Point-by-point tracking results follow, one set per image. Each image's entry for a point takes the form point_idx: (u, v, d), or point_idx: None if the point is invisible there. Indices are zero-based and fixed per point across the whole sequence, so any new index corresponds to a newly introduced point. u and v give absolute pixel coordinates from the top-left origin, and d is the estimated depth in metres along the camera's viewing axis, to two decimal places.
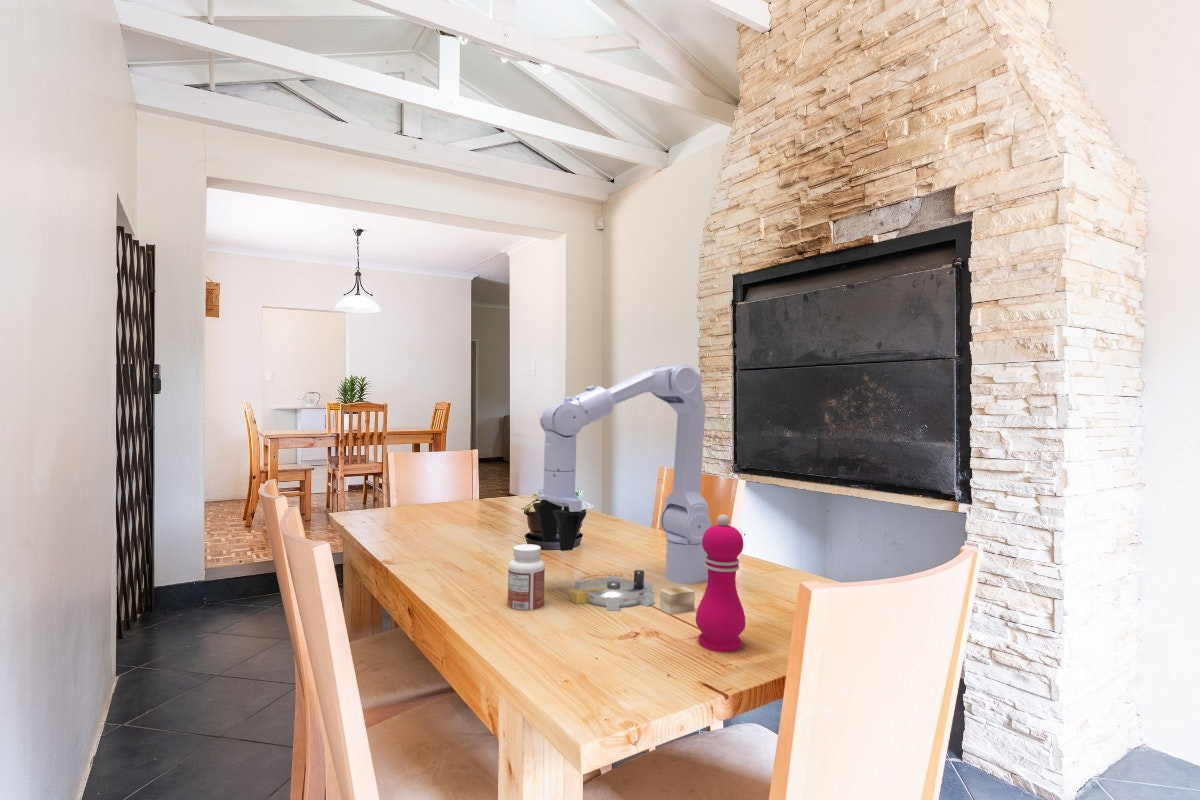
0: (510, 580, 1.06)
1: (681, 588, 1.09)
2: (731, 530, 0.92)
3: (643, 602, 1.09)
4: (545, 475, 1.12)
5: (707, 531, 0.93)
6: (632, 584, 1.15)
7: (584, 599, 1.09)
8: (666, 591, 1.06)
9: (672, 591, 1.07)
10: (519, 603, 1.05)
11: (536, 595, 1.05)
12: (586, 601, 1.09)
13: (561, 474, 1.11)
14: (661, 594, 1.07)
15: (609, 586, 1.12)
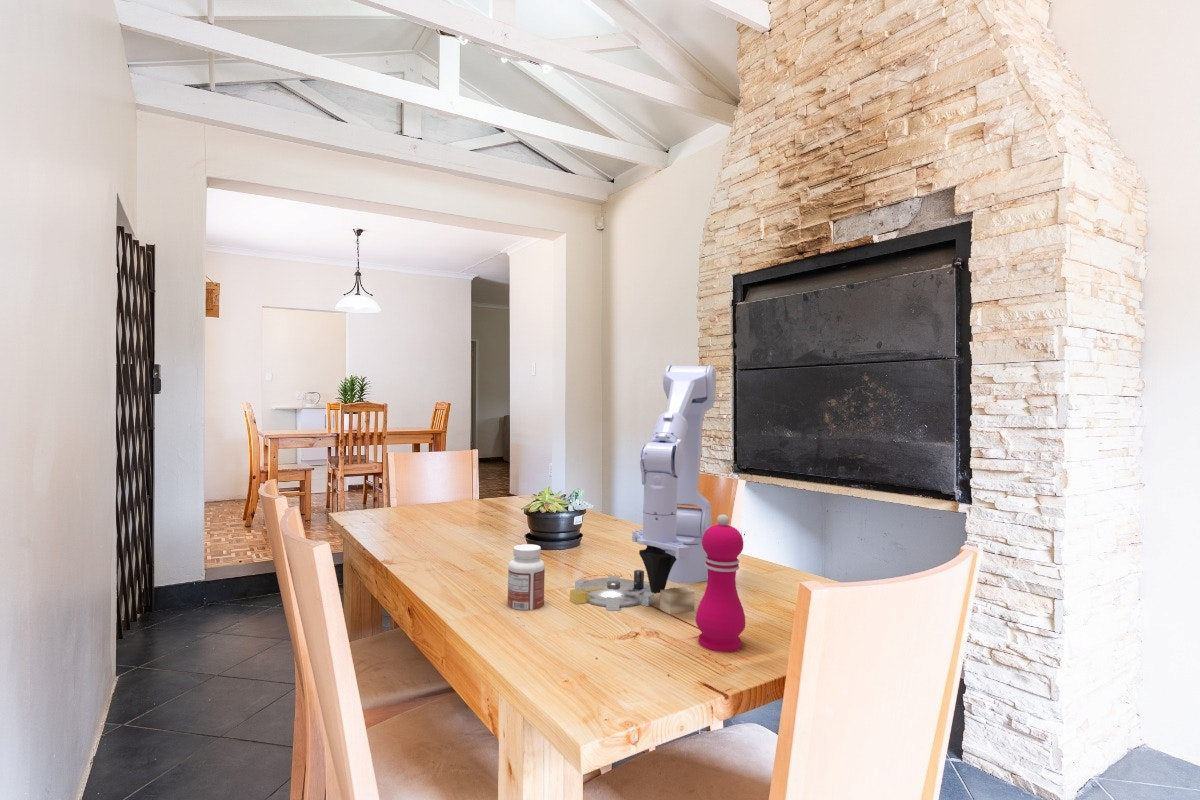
0: (510, 580, 1.06)
1: (681, 588, 1.09)
2: (731, 530, 0.92)
3: (643, 602, 1.09)
4: (646, 518, 1.06)
5: (707, 531, 0.93)
6: (632, 584, 1.15)
7: (584, 599, 1.09)
8: (666, 591, 1.06)
9: (672, 591, 1.07)
10: (519, 603, 1.05)
11: (536, 595, 1.05)
12: (586, 601, 1.09)
13: (664, 518, 1.05)
14: (661, 594, 1.07)
15: (609, 586, 1.12)
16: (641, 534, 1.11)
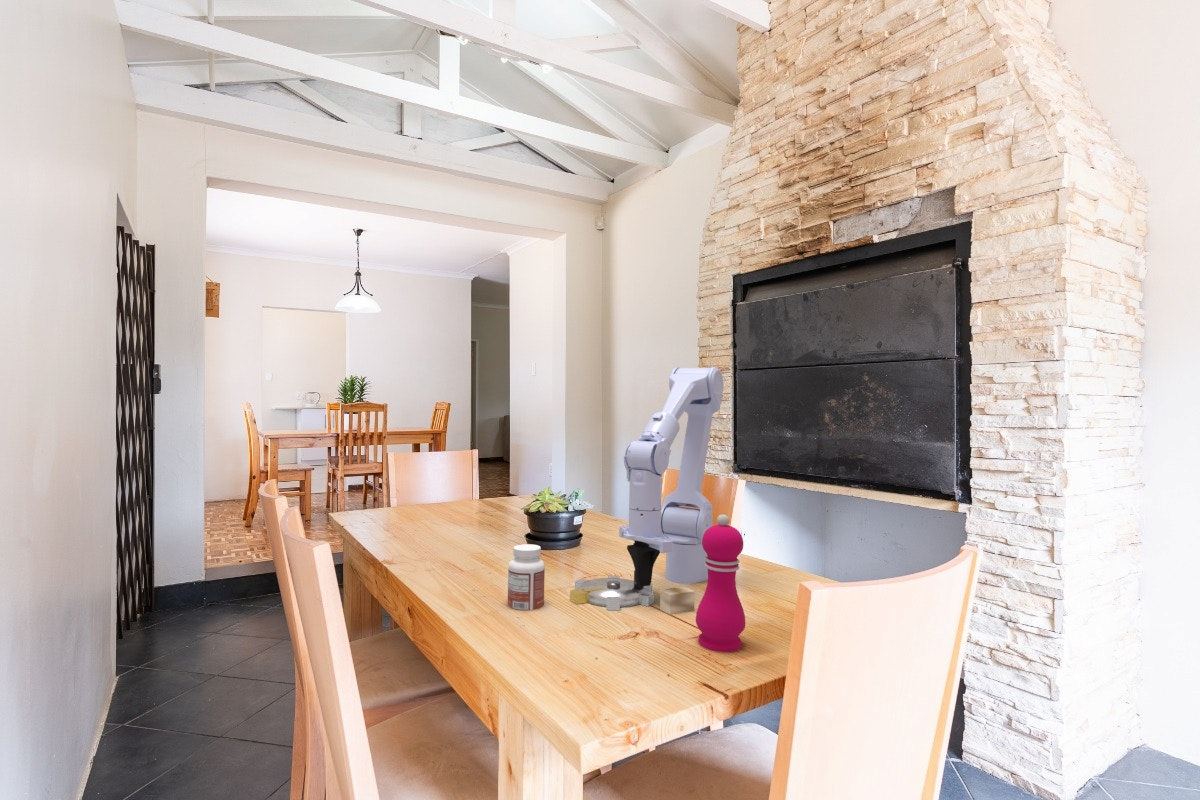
0: (510, 580, 1.06)
1: (681, 588, 1.09)
2: (731, 530, 0.92)
3: (643, 602, 1.09)
4: (631, 514, 1.11)
5: (707, 531, 0.93)
6: (632, 584, 1.15)
7: (584, 599, 1.09)
8: (666, 591, 1.06)
9: (672, 591, 1.07)
10: (519, 603, 1.05)
11: (536, 595, 1.05)
12: (586, 601, 1.09)
13: (649, 513, 1.09)
14: (661, 594, 1.07)
15: (609, 586, 1.12)
16: (627, 529, 1.16)
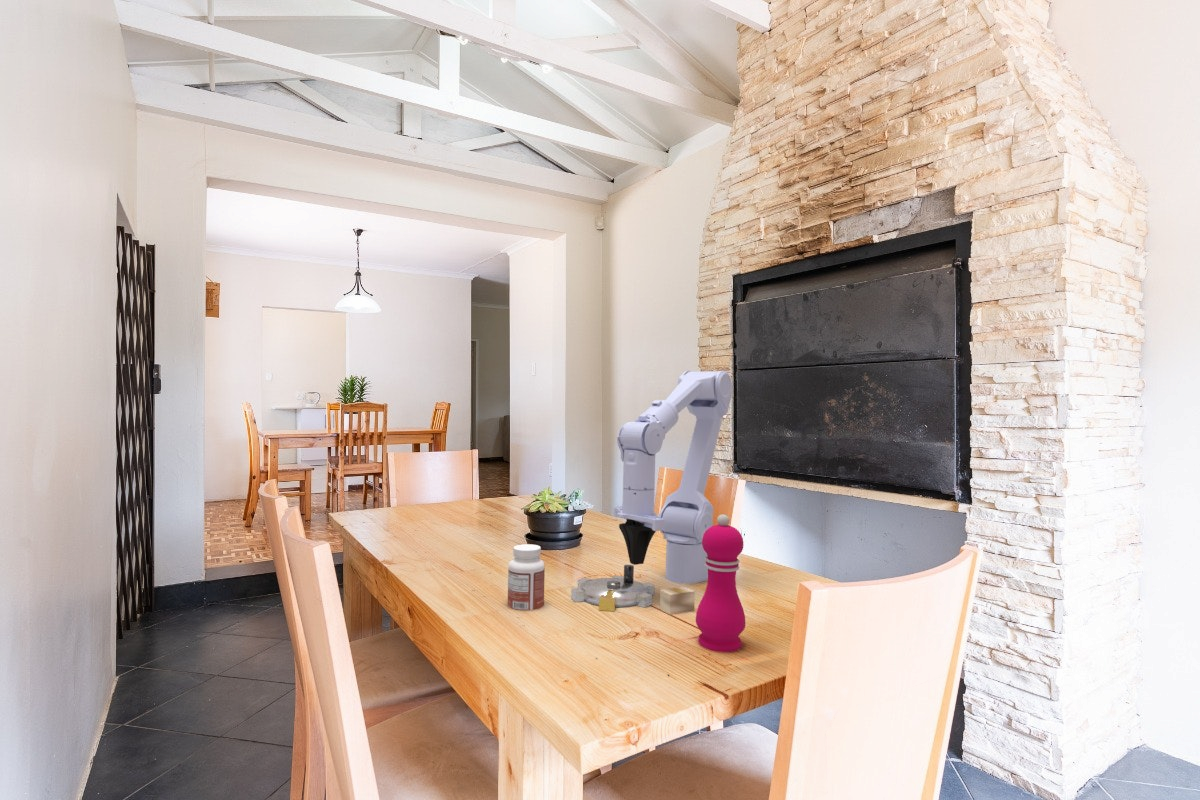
0: (510, 580, 1.06)
1: (681, 588, 1.09)
2: (731, 530, 0.92)
3: (649, 592, 1.15)
4: (625, 493, 1.13)
5: (707, 531, 0.93)
6: (615, 580, 1.17)
7: (615, 604, 1.07)
8: (666, 591, 1.06)
9: (672, 591, 1.07)
10: (519, 603, 1.05)
11: (536, 595, 1.05)
12: (615, 606, 1.07)
13: (642, 493, 1.11)
14: (661, 594, 1.07)
15: (615, 587, 1.12)
16: (622, 509, 1.18)
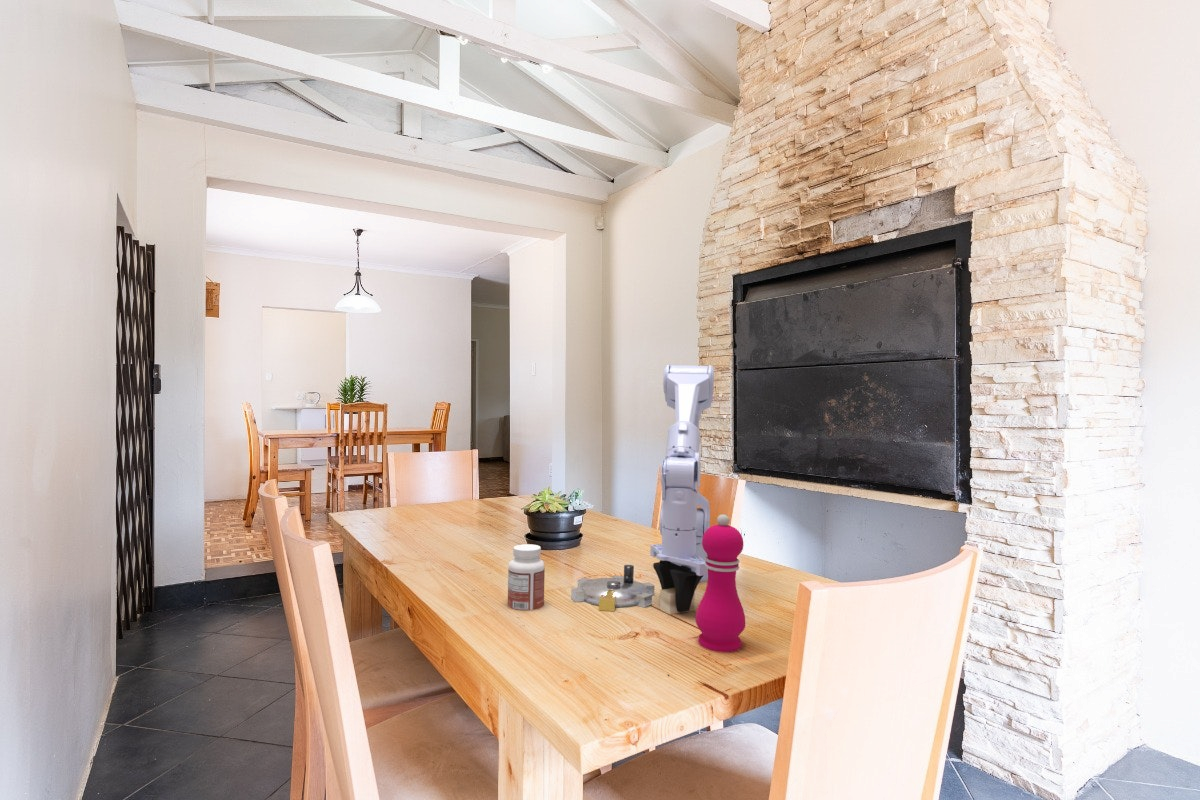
0: (510, 580, 1.06)
1: None
2: (731, 530, 0.92)
3: (649, 592, 1.15)
4: (665, 534, 1.06)
5: (707, 531, 0.93)
6: (615, 580, 1.17)
7: (615, 604, 1.07)
8: (666, 591, 1.06)
9: (672, 591, 1.07)
10: (519, 603, 1.05)
11: (536, 595, 1.05)
12: (615, 606, 1.07)
13: (684, 533, 1.04)
14: (661, 594, 1.07)
15: (615, 587, 1.12)
16: (660, 549, 1.11)
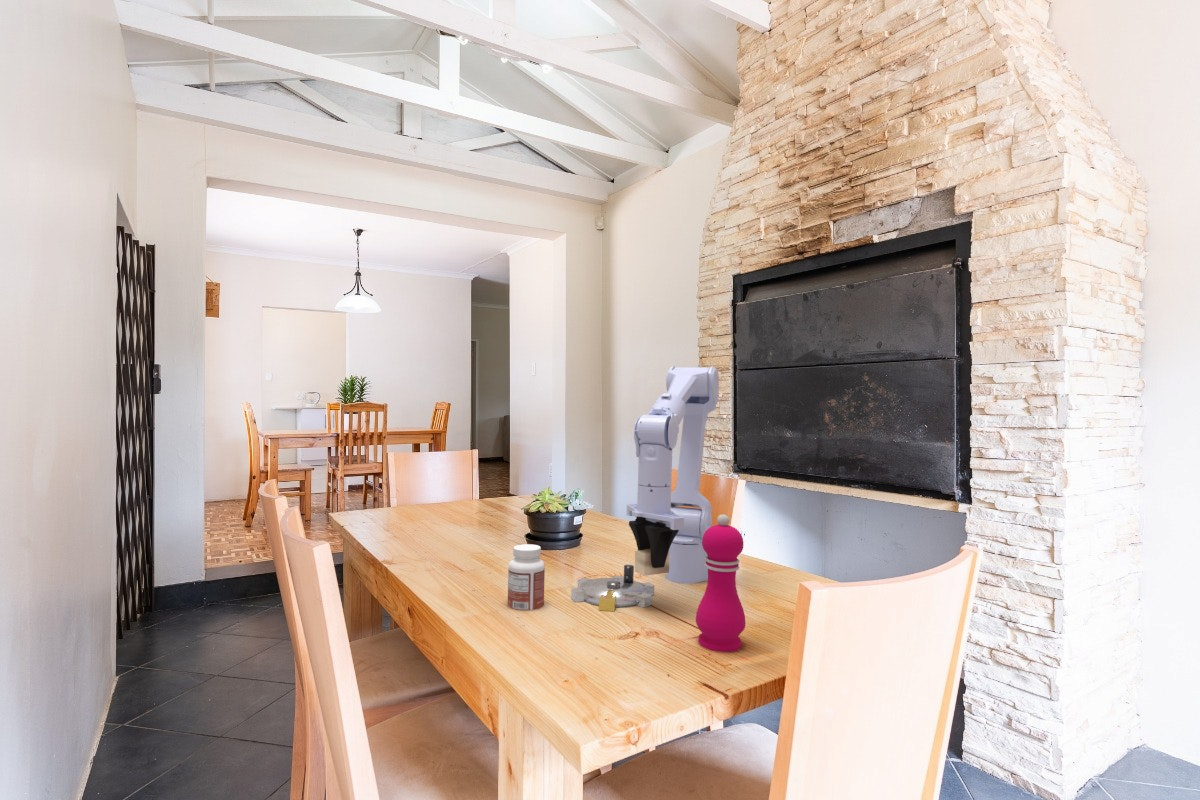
0: (510, 580, 1.06)
1: None
2: (731, 530, 0.92)
3: (649, 592, 1.15)
4: (640, 490, 1.06)
5: (707, 531, 0.93)
6: (615, 580, 1.17)
7: (615, 604, 1.07)
8: (641, 552, 1.07)
9: (647, 552, 1.07)
10: (519, 603, 1.05)
11: (536, 595, 1.05)
12: (615, 606, 1.07)
13: (659, 490, 1.05)
14: (636, 555, 1.07)
15: (615, 587, 1.12)
16: (635, 507, 1.11)
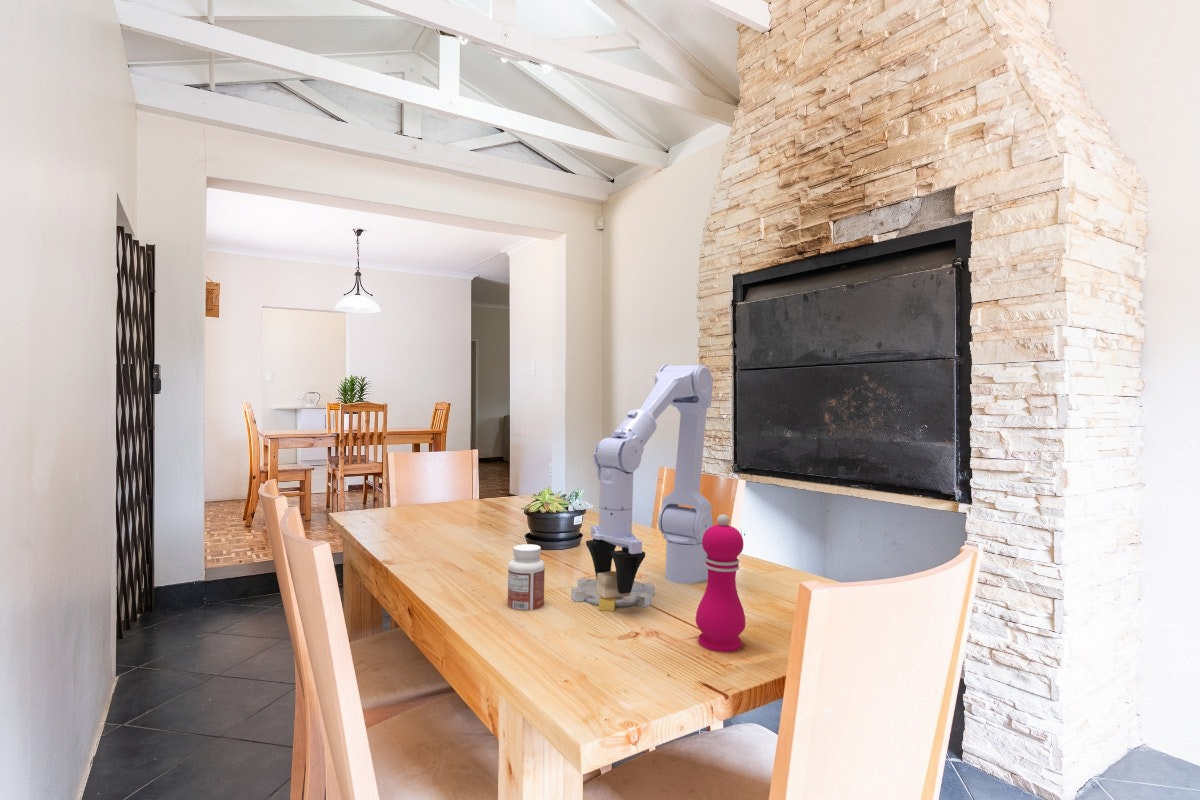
0: (510, 580, 1.06)
1: None
2: (731, 530, 0.92)
3: (649, 592, 1.15)
4: (601, 513, 1.07)
5: (707, 531, 0.93)
6: None
7: (615, 604, 1.07)
8: (603, 574, 1.08)
9: (609, 574, 1.08)
10: (519, 603, 1.05)
11: (536, 595, 1.05)
12: (615, 606, 1.07)
13: (619, 513, 1.06)
14: (598, 577, 1.09)
15: None
16: (598, 529, 1.12)
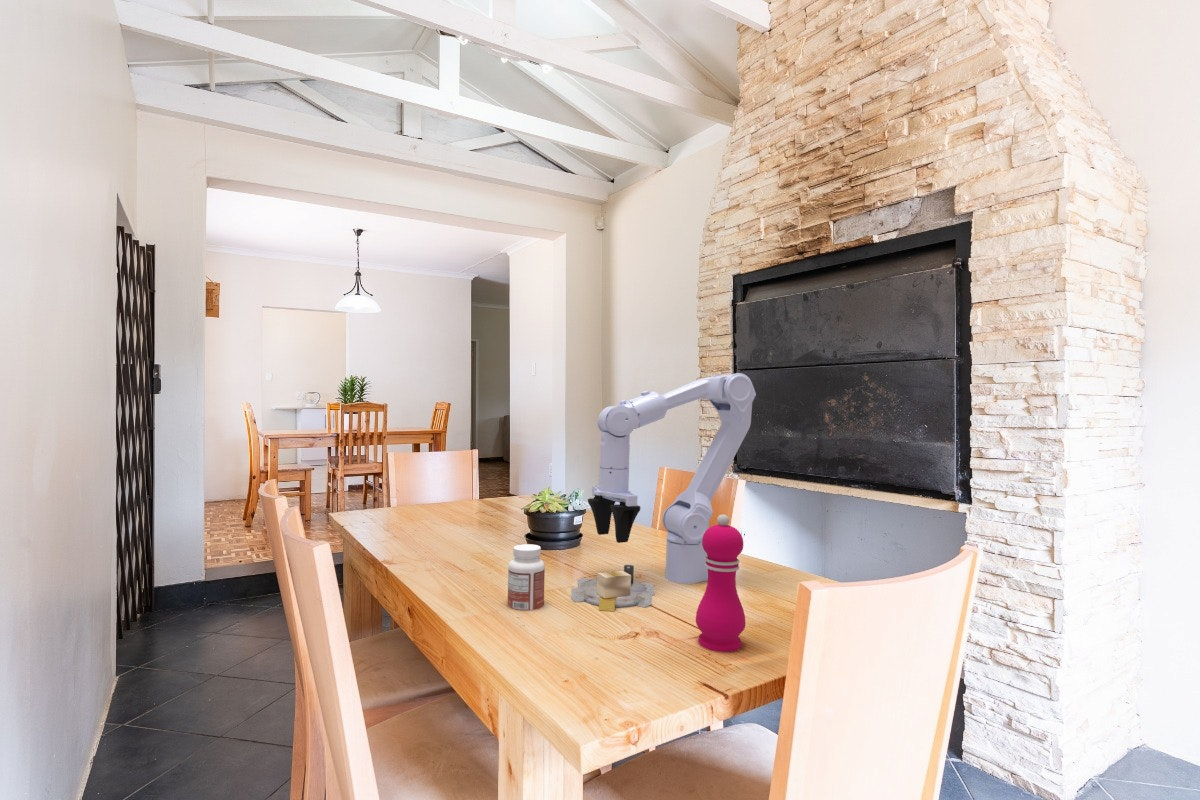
0: (510, 580, 1.06)
1: (619, 572, 1.10)
2: (731, 530, 0.92)
3: (649, 592, 1.15)
4: (601, 472, 1.21)
5: (707, 531, 0.93)
6: None
7: (615, 604, 1.07)
8: (603, 574, 1.08)
9: (609, 574, 1.08)
10: (519, 603, 1.05)
11: (536, 595, 1.05)
12: (615, 606, 1.07)
13: (617, 471, 1.20)
14: (598, 577, 1.09)
15: None
16: (599, 488, 1.26)
